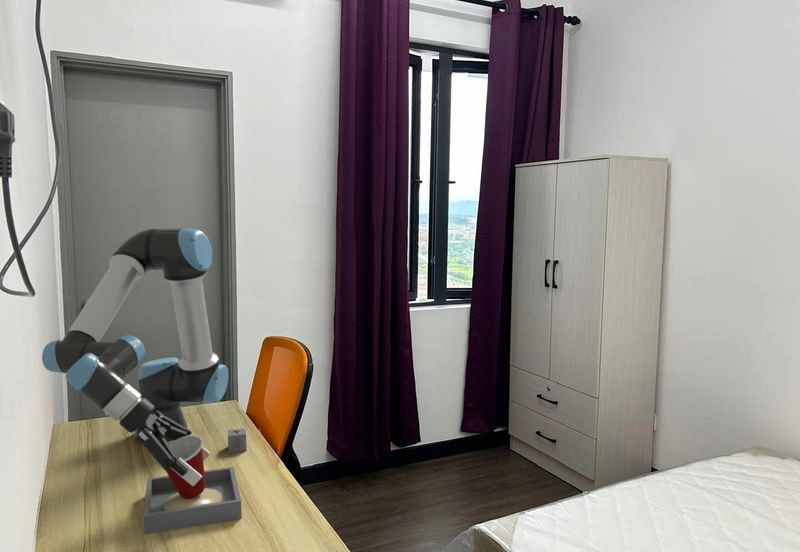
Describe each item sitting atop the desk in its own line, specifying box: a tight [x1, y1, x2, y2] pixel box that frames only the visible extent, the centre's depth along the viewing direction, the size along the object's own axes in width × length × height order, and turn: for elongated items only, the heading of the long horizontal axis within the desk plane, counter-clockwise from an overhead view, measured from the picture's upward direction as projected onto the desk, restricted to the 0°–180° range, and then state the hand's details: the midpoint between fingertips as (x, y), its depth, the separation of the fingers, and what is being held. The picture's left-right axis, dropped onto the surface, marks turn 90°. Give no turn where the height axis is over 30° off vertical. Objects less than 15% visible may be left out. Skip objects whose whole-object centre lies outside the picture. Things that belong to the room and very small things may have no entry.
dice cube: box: [227, 428, 248, 454], centre depth 176 cm, size 5×5×5 cm
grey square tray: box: [142, 466, 243, 535], centre depth 141 cm, size 20×20×4 cm
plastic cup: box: [155, 434, 205, 499], centre depth 142 cm, size 11×11×12 cm
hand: (202, 469), depth 140 cm, fingers open, 13 cm apart
